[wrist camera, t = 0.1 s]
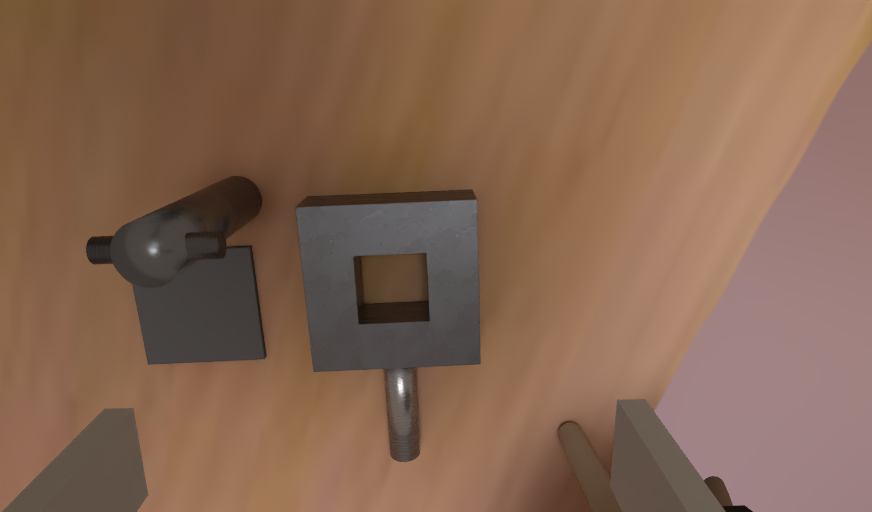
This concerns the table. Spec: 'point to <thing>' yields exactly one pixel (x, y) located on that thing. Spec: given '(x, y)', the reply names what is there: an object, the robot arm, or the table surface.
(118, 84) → the table surface
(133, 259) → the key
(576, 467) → the planter
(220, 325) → the mat
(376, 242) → the block
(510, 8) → the table surface
